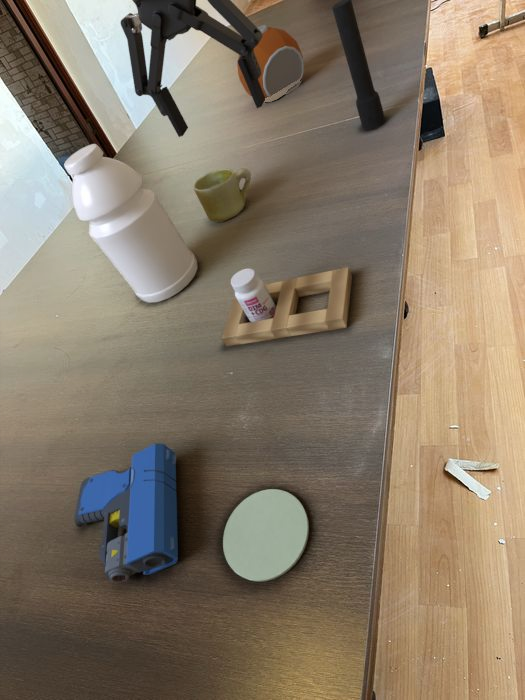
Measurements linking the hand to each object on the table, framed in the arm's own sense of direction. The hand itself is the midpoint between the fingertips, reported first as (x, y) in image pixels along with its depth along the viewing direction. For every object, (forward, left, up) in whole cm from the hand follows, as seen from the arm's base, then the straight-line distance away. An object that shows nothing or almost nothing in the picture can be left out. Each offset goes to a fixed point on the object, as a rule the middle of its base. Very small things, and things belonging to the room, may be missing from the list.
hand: (221, 118), depth 74 cm
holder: (-4, +18, -25) cm, 31 cm away
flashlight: (-15, -38, -25) cm, 48 cm away
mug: (+15, -19, -25) cm, 35 cm away
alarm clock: (+15, -80, -25) cm, 85 cm away
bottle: (+25, +2, -25) cm, 35 cm away
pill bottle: (0, +18, -25) cm, 31 cm away
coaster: (-7, +53, -25) cm, 59 cm away
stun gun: (+12, +52, -25) cm, 59 cm away
